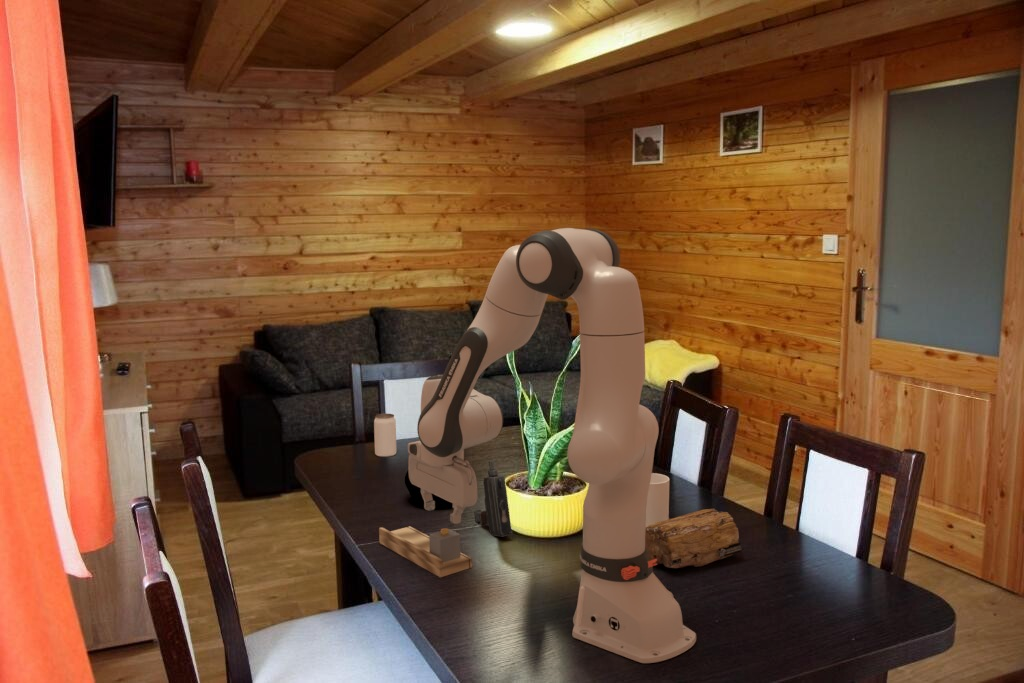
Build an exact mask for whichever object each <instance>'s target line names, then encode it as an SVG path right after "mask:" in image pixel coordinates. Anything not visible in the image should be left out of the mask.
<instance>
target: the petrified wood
mask: <svg viewBox="0 0 1024 683" xmlns="http://www.w3.org/2000/svg"><path fill="white" fill-rule="evenodd" d="M739 534H740V533H739V528H738V527H737V524H736V523H735V521H734V518H733V516H732V515H731V514H729V512H727V511H718V510H717V509H715V508H707V509H701V510H697V511H693V512H690V513H687V514H682V515H679V516H676V517H673V518H669V520H665V521H660V522H657V523H654V524H651V525H649V526H648V527H646V533H645V546H646V547H647V550H648V553H649V557H650V560H654V559H657V561H656V562H655V563H653V564H656V563H657V565H661V564H663V566H664V567H666V568H670V569H679V568H680V569H681V568H685V567H688V566H692V567H694V568H697V567H703V566H706V565H709V564H710V563H713V562H716V561H718V560H723V559H725V558H729V557H731V556H733V555H735V554H738V553H741V552H742V551H743V550H742V544H741V542H739V537H740V536H739ZM657 565H656V566H657Z"/></svg>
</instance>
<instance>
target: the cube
mask: <svg viewBox="0 0 1024 683" xmlns="http://www.w3.org/2000/svg"><path fill="white" fill-rule="evenodd" d="M428 536H429V544H430V553H431V554H433V555H435V556H437V557H438V558H440V559H442V560H443V562H446V561H449V560H453V559H456V558H459V557H461V555H460V552H461V534H460V533H458V532H456V531H455V530H452V529H450V528H447V527H445V528H441V529H440V531H437V532H433V533H429V535H428Z"/></svg>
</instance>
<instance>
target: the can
mask: <svg viewBox="0 0 1024 683" xmlns="http://www.w3.org/2000/svg"><path fill="white" fill-rule="evenodd" d="M396 422H397V421H396V418H395V415H394V414H392V413H379V414H376V415H375V417H374V420H373V428H374V429H373V434H374V435H373V436H374V439H373V440H374V455H375V456H377V457H379V458H390V457H394V456H395V455H396V454H397V425H396V424H397V423H396Z"/></svg>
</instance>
